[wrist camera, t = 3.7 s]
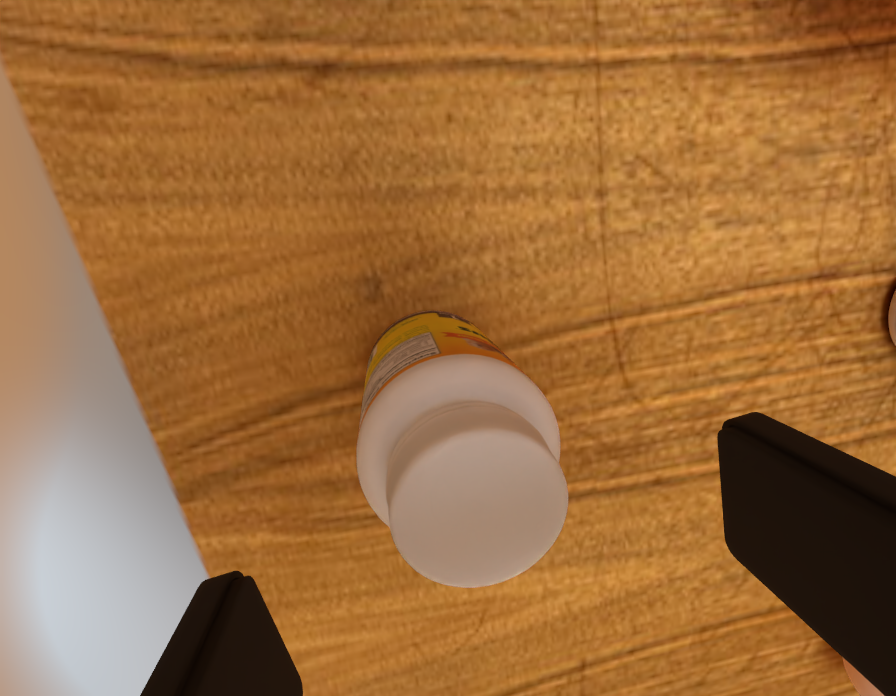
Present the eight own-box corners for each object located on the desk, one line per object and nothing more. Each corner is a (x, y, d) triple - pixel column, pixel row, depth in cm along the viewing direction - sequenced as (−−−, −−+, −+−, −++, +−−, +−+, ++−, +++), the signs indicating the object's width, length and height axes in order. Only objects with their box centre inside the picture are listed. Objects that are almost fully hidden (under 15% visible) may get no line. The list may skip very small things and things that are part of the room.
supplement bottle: (513, 383, 20) (643, 535, 10) (411, 448, 20) (440, 661, 10) (451, 281, 18) (533, 339, 8) (340, 352, 18) (290, 492, 8)
